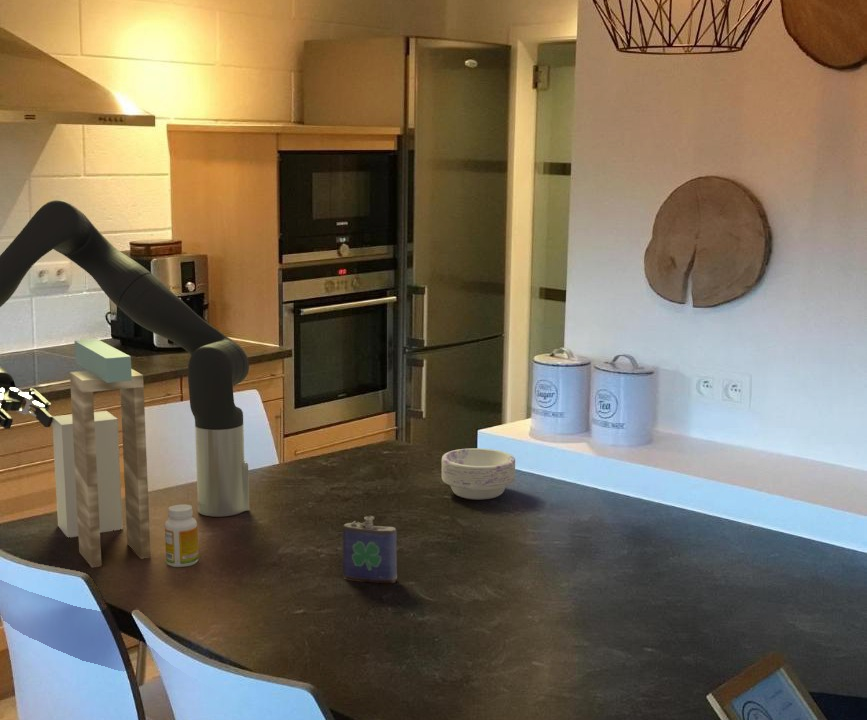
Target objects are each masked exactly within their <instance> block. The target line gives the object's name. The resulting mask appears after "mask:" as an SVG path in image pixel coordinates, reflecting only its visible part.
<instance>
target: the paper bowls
mask: <svg viewBox="0 0 867 720" xmlns="http://www.w3.org/2000/svg"><path fill="white" fill-rule="evenodd" d="M515 476H516V458H515V457H514V456H513V455H512V454H510V453H508V452H504V451H502V450H497V449H492V448H478V447H477V448H461V449H459V448H458V449H455V450H451V451H450V450H449V451H448V452H446V453H444V454H442V457H441V480H442V481H443V483H444V484H446V485H449V486H450V488H451V490H452V492H453V493H454V495H456V496H458V497H460V498H464V499H467V500H481V501H482V500H491V499H495V498H498V497H500V496H502V494H503V493H504V491H505V490H506V487H508V486H511V485H512V484H514V482H515V478H516V477H515Z"/></svg>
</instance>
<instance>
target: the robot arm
mask: <svg viewBox="0 0 867 720" xmlns="http://www.w3.org/2000/svg"><path fill="white" fill-rule="evenodd" d="M52 250H54V251H56V252H58V253H60V254H61V255H63V256H64V257H66V258H67V259H69V260H70V261H72V262H73V263H74V264H75V265H76V266H78V267H80V268H81V269H82V270H83V271H85V272H86V273H87V274H89V275H90V277H92V279H93V280H94V281H95V282H96V283H97V285H98V286H99V287H100V289H101V290H102V291H103V293H104V294H105V295H106V297H107V298H109V299H110V301H111V302H113V303H114V304H115V305H116V307H117V308H118V309H120V311H122V312H123V313H124V314H125V315H127V316H128V318H129V319H131V320H132V321H133V322H134V323H136V324H137V325H139V326H141V327H142V328H144V329H146V330H147V331H149V332H152V333H154V334H156V335H158V336H160V337H162V338H164V339H167V340H169V341H170V342H173V343H175V344H176V345H178V346H180V348H182V349H184V350H185V351H186V352H187V353H188V354H189V355H190V357H189V360H188V364H187V385H188V395H189V407H190V410H191V413H192V416H193V418H194V432H195V433H194V434H195V436H194V437H195V458H196V459H195V460H196V490H197V491H196V492H197V500H196V501H197V512H198V514H201V515H203V516H205V517H217V518H218V517H221V518H222V517H229V516H235V515H238V514H241V513H244V512H247V511H250V490H249V489H250V487H249V486H250V485H249V484H250V482H249V464H248V462H247V461H245V440H244V439H245V438H244V437H245V436H244V411H243V410H242V409H241V408H240V407H238V406H236V404H235V397H234V386H237V385H238V384H241V383H242V382H243V381H244V380H245V379H246V377H247V376H248V374H249V370H250V363H249V359H248V356H247V354H246V352H245V351H244V349H243V348H242V347H241V345H239V344H238V343H237V342H235V341H234V340H233V339H231V338H230V337H228V336H227V335H225V334H224V333H222V332H221V331H220V330H218V329H217V328H216V327H214V326H213V325H211V324H210V323H209V322H207V321H206V320H204V319H203V318H202V317H201V316H200V315H199V314H197V313H196V312H195V311H194V310H193V309H192V308H191V307H190V306H189V305H187V303H185V301H183V299H181V298H180V297H178V296H177V295H176V294H175V293H174V292H173V291H171V290H170V289H169V288H168V287H167V286H166V285H165V284H164V283H163V282H162V281H160V280H159V279H158V278H157V276H155V275H154V274H153V273H151V271H149V270H148V269H146V268H145V267H144V266H143V265H141V264H140V263H139V262H137V261H135V260H134V259H133V258H131V257H129V256H128V255H127V254H125V253H123V252H121V251H120V250H119V249H117V248H116V247H115V246H114V245H113V244H112V243H111V242H109V240H107V238H106V237H105V236H104V235H103V234H102V233H101V232H100V231H99V230H98V228H97V227H95V225H94V224H93V223H92V221H91V220H90V219H89V218H88V217H87V216H86V214H84V213H83V212H82V211H80V210H79V209H78V207H75V205H73V204H72V203H70V202H68V201H66V200H63V199H62V200H61V199H55V200H50V201H48V202H46V203H45V204H43V205H42V206H41V207H40V208H39V209H38V210H37V211H36V212H35V213H34V214H33V216H32V217H30V219H29V221H28V222H27V223H26V224H25V226H24V227H23V228H22V229H21V231H20V232H19V233H18V234H17V236H16V237H15V238H14V239H13V240H12V241H11V242H10V244H9V245H8V246H7V247H6V248H5V249H4V250H3V252H2V253H1V254H0V308H1V307H2V306H4V304H6V302H8V301H9V299H10V298H11V297H12V296H13V294H14V293H15V292H16V290H17V289H18V288H19V287H20V284H21V283H22V281H23V280H24V278H25V276H26V275H27V273H28V272H29V271H30V269H31V268H32V267H33V266H34V265H35V264H36V263H37V262H38V261H39V260H40V259H41V258H43V257H44V256H45V255H47V254H49V253H50V252H51V251H52ZM115 305H114V306H115ZM24 400H25V406H24V408H23V407H22V406H23V402H24ZM51 404H52V403H51V402H50V401H49V400H48V399H46V397H45V396H43V395H42V394H41V393H40V392H39V391H37V390H36V389H35V388H30V389H29V390H28V392H26V391H25V392H24V391H23V390H21V389H19V388H18V387H17V386H16V383H15V379H14V378H13V376H12V375H11V374H10V373H9V372H8V371H7V370H6V369H5V368H4V367H3V366H2V365H1V364H0V426H1V427H2V428H3V429H4V430H10V429H11V427H12V424H13V422H14V421H13V417H11V415H10V414H9V413H8V411H13V412H17V413H19V414H21V415H24V416H26V415H30V416H32V417H35V419H36V420H37V421H38V422H39V423H40V424H41V425H42V426H43V427H44V428H50V427H51V425H52V420H53V416H54V415H52V414H51V413H50V412H49V409H50V407H51V406H52V405H51ZM31 407H32V408H34V409H31Z"/></svg>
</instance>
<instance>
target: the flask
mask: <svg viewBox="0 0 867 720" xmlns="http://www.w3.org/2000/svg"><path fill="white" fill-rule="evenodd" d="M363 519H364V520H365V521H364V522H359V521H356V520H354V521H352V522H347V523H345V524H344V525H343V526H342V576H343V579H345V580H349V581H354V582H365V583H366V582H368V583H377V584H380V583H381V584H393V583H396V581H397V580H398V572H397V571H398V570H397V569H398V567H397V563H398V558H397V547H398V546H397V537H398V536H397V534H398V532H397V529H396V527H394V526H382V525H374V521H373V520H375V516H372V515H369V516H367V515H366V516H364V518H363Z"/></svg>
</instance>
